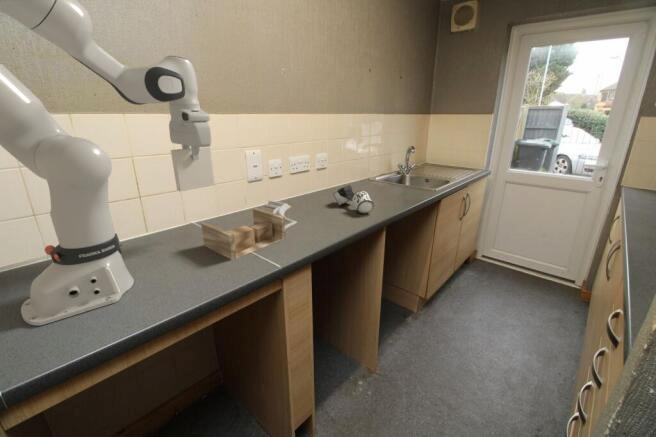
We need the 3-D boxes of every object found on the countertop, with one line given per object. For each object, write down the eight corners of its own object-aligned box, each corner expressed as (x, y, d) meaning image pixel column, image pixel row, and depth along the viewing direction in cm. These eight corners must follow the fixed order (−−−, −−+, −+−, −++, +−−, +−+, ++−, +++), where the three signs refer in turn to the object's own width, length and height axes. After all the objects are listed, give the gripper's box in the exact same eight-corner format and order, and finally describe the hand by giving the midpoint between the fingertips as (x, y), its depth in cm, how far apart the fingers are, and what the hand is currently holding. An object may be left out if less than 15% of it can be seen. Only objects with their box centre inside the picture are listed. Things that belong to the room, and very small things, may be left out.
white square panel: (180, 191, 100) (174, 150, 96) (177, 190, 101) (170, 150, 97) (214, 185, 109) (209, 147, 104) (210, 184, 110) (206, 146, 106)
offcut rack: (232, 264, 94) (229, 235, 91) (204, 249, 104) (201, 223, 101) (285, 241, 110) (284, 216, 107) (257, 231, 120) (255, 207, 117)
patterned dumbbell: (378, 213, 141) (379, 192, 137) (361, 217, 135) (362, 195, 132) (345, 200, 161) (346, 181, 157) (329, 203, 156) (330, 184, 152)
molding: (264, 205, 154) (264, 200, 153) (288, 203, 157) (288, 198, 156) (273, 238, 115) (272, 230, 114) (305, 234, 118) (305, 227, 117)
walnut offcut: (258, 242, 105) (257, 229, 104) (251, 239, 108) (249, 226, 106) (272, 237, 110) (272, 224, 109) (265, 234, 113) (264, 221, 111)
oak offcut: (234, 253, 98) (232, 236, 96) (225, 249, 101) (223, 232, 99) (255, 245, 103) (253, 228, 101) (246, 241, 106) (244, 225, 104)
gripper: (161, 114, 101) (168, 157, 106) (192, 115, 89) (198, 163, 93) (180, 114, 106) (186, 155, 110) (212, 115, 93) (217, 161, 98)
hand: (192, 159), depth 102 cm, fingers closed on white square panel, 2 cm apart
